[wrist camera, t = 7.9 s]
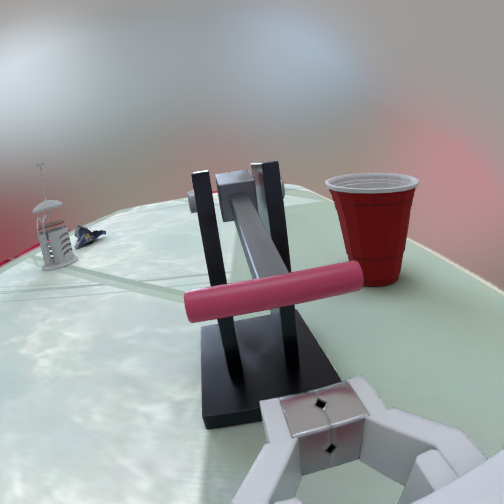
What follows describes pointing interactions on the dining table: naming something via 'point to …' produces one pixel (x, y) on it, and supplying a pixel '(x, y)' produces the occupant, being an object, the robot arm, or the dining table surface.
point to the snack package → (86, 235)
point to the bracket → (253, 323)
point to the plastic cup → (374, 221)
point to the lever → (263, 264)
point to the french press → (54, 237)
